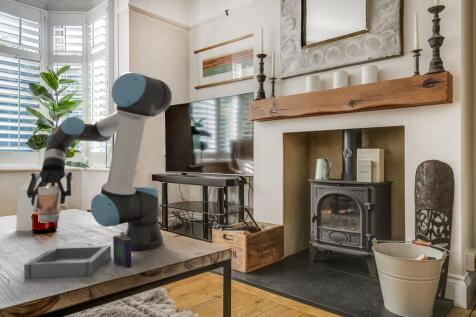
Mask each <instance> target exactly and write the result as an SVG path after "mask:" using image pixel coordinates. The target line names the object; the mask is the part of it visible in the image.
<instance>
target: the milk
mask: <svg viewBox="0 0 476 317" xmlns="http://www.w3.org/2000/svg"><path fill="white" fill-rule="evenodd" d="M31 179H32V176H31V175H29V176H28V178H27V181H26V182H25V183H24V185H23V186H22V187H21V188H20V189H19V190H18V193H17V203H16V204H17V206H16V208H17V209H16V223H15V224H16V225H15V226H16V227H15V231H16V232H20V231H21V232H32V231H31V230H32V219H31V216H32V212H33V206H32V204H31V200H32V198H28V196H27V190H28V187H29V184H30V182H31ZM41 179H42V178H41V177H39V179H38V180H37V183H36V186H35V189H36V187H37V186H38V185H39V183H40V182H41ZM47 186H49V185H48V184H47ZM47 186H45V187H47ZM35 189H34V190H35Z"/></svg>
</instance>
